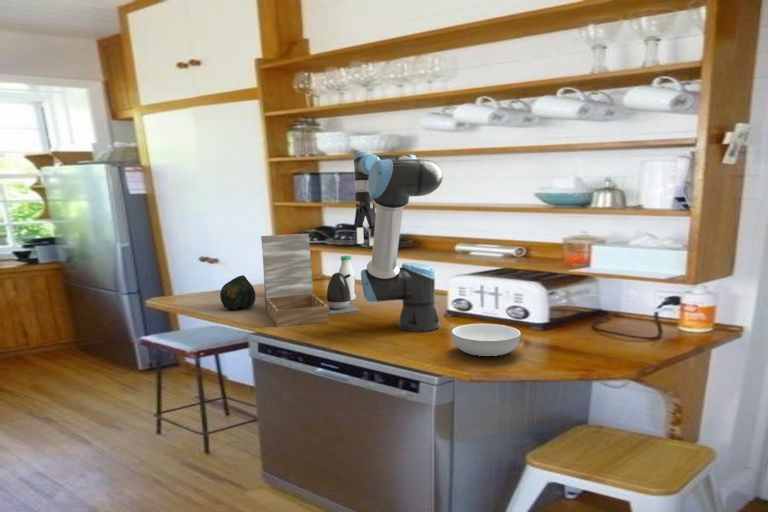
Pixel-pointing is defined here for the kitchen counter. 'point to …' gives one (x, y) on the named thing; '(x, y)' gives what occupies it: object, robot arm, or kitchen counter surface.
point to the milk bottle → (347, 269)
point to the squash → (237, 293)
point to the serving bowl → (486, 339)
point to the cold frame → (290, 281)
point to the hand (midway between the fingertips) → (366, 244)
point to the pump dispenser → (338, 291)
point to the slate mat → (348, 309)
